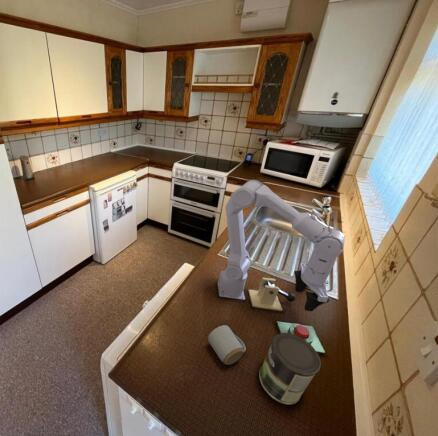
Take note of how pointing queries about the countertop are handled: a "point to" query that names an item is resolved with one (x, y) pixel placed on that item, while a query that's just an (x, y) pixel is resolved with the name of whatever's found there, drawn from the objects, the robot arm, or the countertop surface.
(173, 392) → the countertop surface
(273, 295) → the lever bracket
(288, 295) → the press lever
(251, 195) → the robot arm
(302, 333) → the button
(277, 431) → the countertop surface
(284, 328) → the control block
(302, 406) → the countertop surface
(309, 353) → the coffee can
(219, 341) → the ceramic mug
